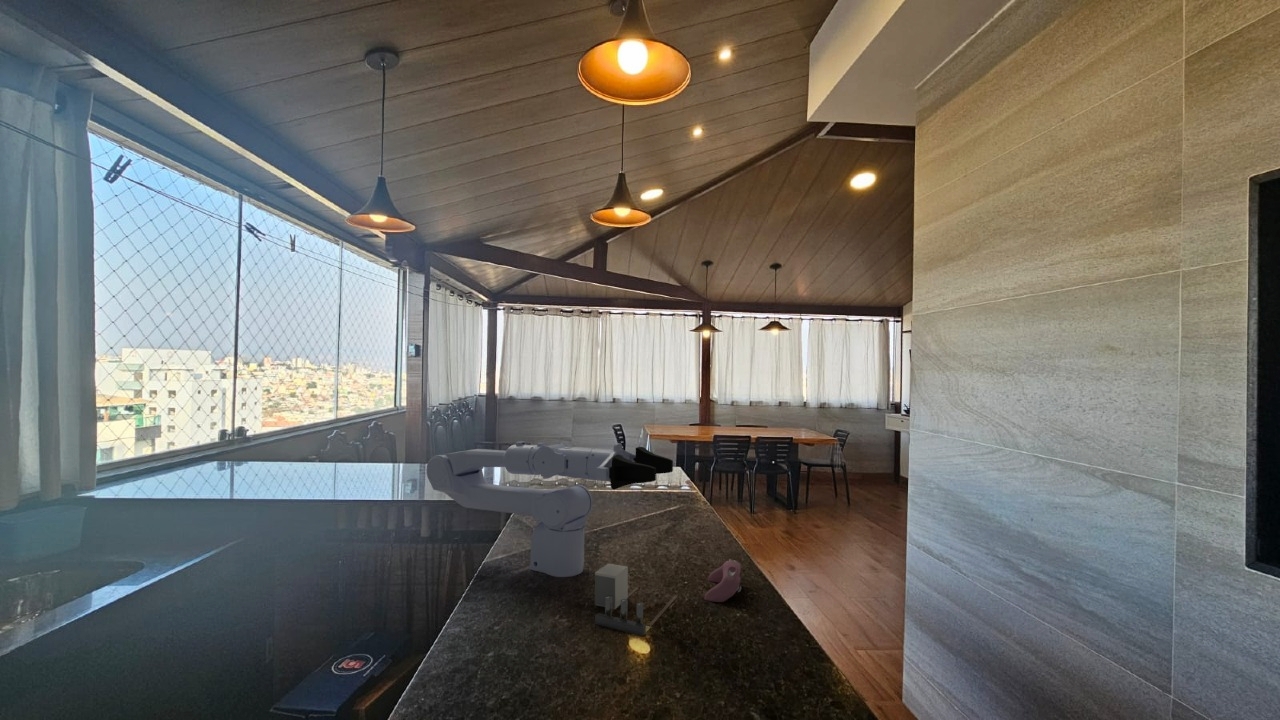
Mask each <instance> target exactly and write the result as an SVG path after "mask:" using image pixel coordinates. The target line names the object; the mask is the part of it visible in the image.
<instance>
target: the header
mask: <svg viewBox="0 0 1280 720" xmlns="http://www.w3.org/2000/svg"><path fill="white" fill-rule="evenodd" d="M628 601H629V600H628V599H621V605H620V615H619V617H617V616H613V612H612V596H610V595H608V596H606V600H605V607H604V613H601V612H598V613H596V614H594V625H597V626H601V627H605V628H609V629H613V630H617V631H621V632H625V633H628V634H631V635H632V634H633V635H637V636H640V637H644V636H645V634H646V633H647V632H646V626H647V624H645V623H644V605H645V604H644V603H643V602H637V603H636V606H635V607H636V609H635V611H636V613H635V615H636V616H635V621H634V620H629V619H628V604H629V602H628Z"/></svg>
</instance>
